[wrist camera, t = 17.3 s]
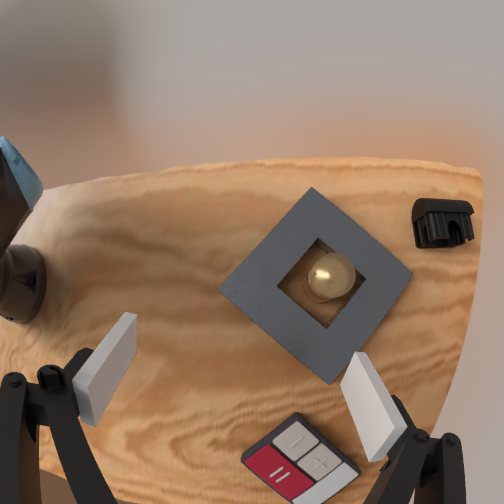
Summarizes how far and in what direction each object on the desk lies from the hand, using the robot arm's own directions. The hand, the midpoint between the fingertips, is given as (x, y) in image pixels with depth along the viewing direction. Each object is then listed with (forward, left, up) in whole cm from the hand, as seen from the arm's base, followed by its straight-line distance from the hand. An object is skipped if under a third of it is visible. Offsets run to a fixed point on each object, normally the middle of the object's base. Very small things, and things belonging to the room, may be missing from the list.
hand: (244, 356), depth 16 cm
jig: (+2, +12, -25) cm, 28 cm away
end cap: (+12, +33, -26) cm, 43 cm away
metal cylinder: (+2, +11, -25) cm, 28 cm away
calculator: (+19, -11, -26) cm, 34 cm away
